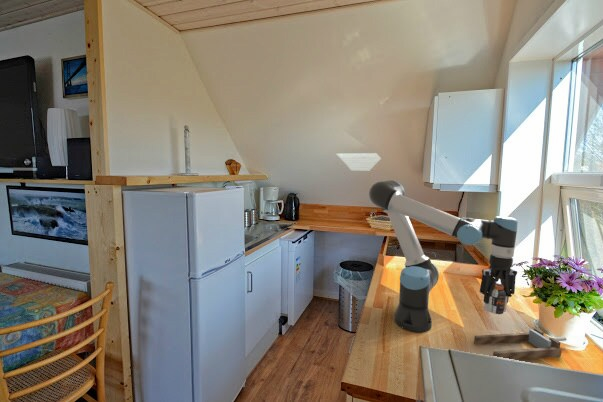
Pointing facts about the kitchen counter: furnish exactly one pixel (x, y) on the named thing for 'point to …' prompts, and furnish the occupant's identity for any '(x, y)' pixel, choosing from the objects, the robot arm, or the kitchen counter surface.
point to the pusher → (541, 339)
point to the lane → (522, 353)
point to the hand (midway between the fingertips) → (494, 310)
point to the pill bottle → (498, 299)
